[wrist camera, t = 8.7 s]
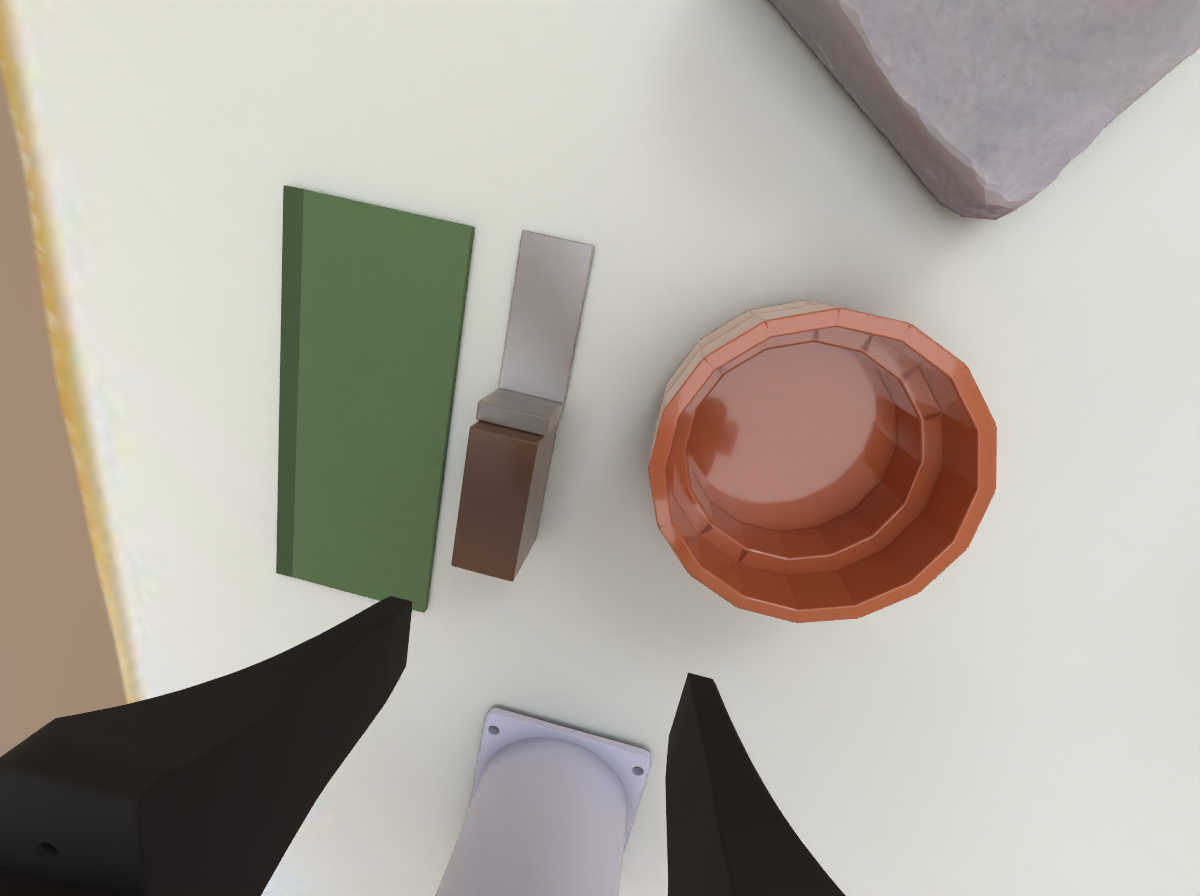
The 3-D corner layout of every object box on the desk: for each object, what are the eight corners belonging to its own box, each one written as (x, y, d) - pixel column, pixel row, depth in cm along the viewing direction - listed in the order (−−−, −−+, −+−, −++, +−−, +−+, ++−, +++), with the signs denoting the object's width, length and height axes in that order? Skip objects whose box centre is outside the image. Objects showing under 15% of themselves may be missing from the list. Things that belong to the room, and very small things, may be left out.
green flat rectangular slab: (427, 609, 25) (424, 613, 25) (280, 569, 26) (276, 573, 26) (474, 227, 20) (471, 226, 20) (289, 186, 20) (282, 185, 20)
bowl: (868, 576, 22) (917, 655, 17) (632, 516, 23) (620, 578, 18) (969, 336, 19) (1061, 356, 14) (693, 275, 19) (697, 275, 15)
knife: (538, 540, 24) (515, 583, 20) (479, 525, 24) (448, 565, 20) (594, 246, 20) (577, 240, 16) (524, 230, 20) (493, 222, 17)
